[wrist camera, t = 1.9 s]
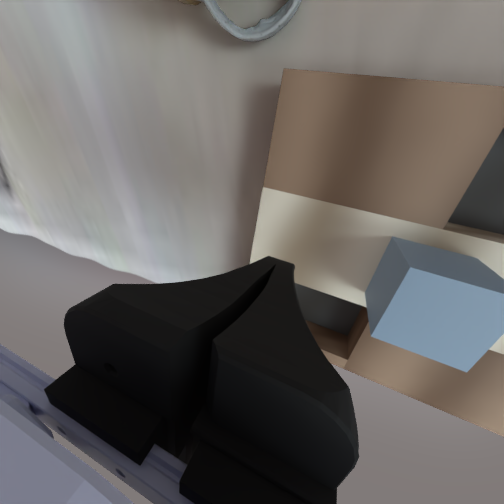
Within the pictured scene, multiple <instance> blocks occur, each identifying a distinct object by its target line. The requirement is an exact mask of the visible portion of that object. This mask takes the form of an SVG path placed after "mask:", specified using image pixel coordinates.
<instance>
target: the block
mask: <svg viewBox="0 0 504 504" xmlns="http://www.w3.org/2000/svg"><path fill="white" fill-rule="evenodd" d="M365 299H366V306H367V313H368V320H369V327H370V334H371V337H374V338H376V339H379V340H382V341H384V342H387V343H390V344H392V345H395V346H398V347H400V348H403V349H406V350H408V351H411V352H414V353H416V354H419V355H422V356H424V357H427V358H430V359H432V360H435V361H438V362H440V363H443V364H446V365H448V366H451V367H454V368H456V369H459V370H462V371H464V372H468V371H469V370H470V369H471V368H472V366H473V365H474V364H475V363H476V362H477V361H478V360H479V359H480V358H481V357H482V356H483V355H484V354H485V353H486V352H487V351H488V350H489V349H490V348H491V347H492V346H493V345H494V343H495V342H496V341H497V340H498V339H499V338H500V337H501V336H502V335H503V334H504V279H503V278H502V277H500V276H499V275H498V274H497V273H495V272H494V271H493V270H491V269H490V268H489V267H488V266H486V265H485V264H484V263H482V262H481V261H480V260H479V259H477V258H475V257H471V256H467V255H463V254H459V253H455V252H452V251H448V250H444V249H440V248H436V247H432V246H428V245H424V244H420V243H416V242H413V241H409V240H405V239H401V238H397V237H393V236H392V238H391V240H390V242H389V244H388V246H387V248H386V250H385V252H384V254H383V256H382V258H381V260H380V262H379V264H378V267H377V269H376V271H375V273H374V275H373V277H372V279H371V281H370V283H369V285H368V287H367V289H366V291H365Z"/></svg>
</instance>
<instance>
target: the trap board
mask: <svg viewBox="0 0 504 504" xmlns="http://www.w3.org/2000/svg"><path fill="white" fill-rule="evenodd" d="M392 236H393V237H397V238H401V239H405V240H409V241H413V242H416V243H420V244H424V245H428V246H432V247H436V248H440V249H444V250H448V251H452V252H455V253H459V254H463V255H467V256H471V257H475V258H477V259H479V260H480V261H481V262H482V263H484V264H485V265H486V266H488V267H489V268H490V269H491V270H493V271H494V272H495V273H497V274H498V275H499V276H500V277H502V278H503V279H504V87H502V86H490V85H478V84H465V83H453V82H441V81H429V80H417V79H405V78H393V77H381V76H369V75H357V74H344V73H332V72H320V71H308V70H296V69H284V70H283V76H282V81H281V87H280V93H279V99H278V104H277V110H276V116H275V121H274V127H273V133H272V138H271V144H270V150H269V155H268V161H267V167H266V172H265V178H264V184H263V189H262V195H261V201H260V206H259V212H258V218H257V224H256V229H255V235H254V241H253V246H252V252H251V258H250V263H249V264H251V263H253V262H256V261H258V260H260V259H262V258H264V257H267V256H271V257H274V258H277V259H280V260H283V261H286V262H290V263H293V264H294V265H295V270H294V282H295V288H296V293H297V297H298V301H299V304H300V308H301V310H302V313H303V316H304V318H305V320H306V323H307V325H308V327H309V329H310V331H311V333H312V335H313V336H314V338H315V340H316V342H317V344H318V346H319V347H320V349H321V350H322V352H323V353H324V355H325V356H326V358H327V359H328V361H329V362H330V363H331V364H334V365H336V366H338V367H341V368H343V369H345V370H348V371H350V372H352V373H355V374H357V375H360V376H362V377H364V378H367V379H369V380H371V381H374V382H376V383H378V384H381V385H383V386H386V387H388V388H390V389H393V390H395V391H397V392H400V393H402V394H404V395H407V396H409V397H411V398H414V399H416V400H418V401H421V402H423V403H426V404H428V405H430V406H433V407H435V408H437V409H440V410H442V411H444V412H447V413H449V414H452V415H454V416H456V417H459V418H461V419H463V420H466V421H468V422H471V423H473V424H475V425H477V426H480V427H482V428H484V429H487V430H489V431H492V432H494V433H497V434H499V435H501V436H503V437H504V334H503V335H502V336H501V337H500V338H499V339H498V340H497V341H496V342H495V343H494V345H493V346H492V347H491V348H490V349H489V350H488V351H487V352H486V353H485V354H484V355H483V356H482V357H481V358H480V359H479V360H478V361H477V362H476V363H475V364H474V365H473V366H472V368H471V369H470V370H469V371H468V372H464V371H462V370H459V369H456V368H454V367H451V366H448V365H446V364H443V363H440V362H438V361H435V360H432V359H430V358H427V357H424V356H422V355H419V354H416V353H414V352H411V351H408V350H406V349H403V348H400V347H398V346H395V345H392V344H390V343H387V342H384V341H382V340H379V339H376V338H374V337H371V334H370V327H369V320H368V313H367V306H366V299H365V291H366V289H367V287H368V285H369V283H370V281H371V279H372V277H373V275H374V273H375V271H376V269H377V267H378V264H379V262H380V260H381V258H382V256H383V254H384V252H385V250H386V248H387V246H388V244H389V242H390V240H391V238H392Z"/></svg>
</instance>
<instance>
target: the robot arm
mask: <svg viewBox="0 0 504 504" xmlns="http://www.w3.org/2000/svg"><path fill="white" fill-rule="evenodd" d="M294 270H295V265H294V264H293V263H290V262H286V261H283V260H280V259H277V258H274V257H271V256H267V257H264V258H262V259H260V260H258V261H256V262H253V263H251V264H249V265H246V266H244V267H241V268H238V269H236V270H233V271H230V272H227V273H224V274H220V275H217V276H212V277H208V278H203V279H197V280H191V281H184V282H176V283H163V284H112V285H111V286H109V287H107V288H105V289H104V290H102V291H100V292H98V293H96V294H95V295H93V296H91V297H90V298H88V299H86V300H84V301H82V302H80V303H79V304H77V305H75V306H73V307H71V308H70V309H69V310H68V311H67V313H66V315H65V319H64V328H65V332H66V336H67V339H68V343H69V345H70V349H71V352H72V355H73V358H74V361H75V364H76V365H74V366H73V367H72V368H70V369H69V370H68V371H67V372H65V373H64V374H63V375H61V376H60V377H59V378H58V379H56V380H55V379H54V378H52V377H51V376H49V375H47V374H46V373H45V372H43V371H41V370H40V369H38V368H37V367H35V366H34V365H32V364H31V363H29V362H27V361H26V360H24V359H23V358H21V357H20V356H18V355H17V354H15V353H13V352H12V351H10V350H9V349H7V348H6V347H4V346H2V345H1V344H0V504H134V503H133V502H132V501H131V500H130V499H129V498H127V497H126V496H125V495H124V494H123V493H121V492H120V491H119V490H118V489H117V488H116V487H115V486H113V485H112V484H111V483H110V482H109V481H107V480H106V479H105V478H104V477H103V476H102V475H100V474H99V473H98V472H97V471H96V470H94V469H93V468H92V467H90V466H89V465H88V464H86V463H85V462H84V461H82V460H81V459H80V458H78V457H77V456H76V455H74V454H73V453H71V452H70V451H69V450H68V449H66V448H65V447H64V446H62V445H61V444H59V443H58V442H57V441H55V440H54V437H53V434H52V432H51V430H50V429H49V428H48V427H47V426H46V425H48V426H49V427H50V428H51V429H53V430H54V431H56V432H57V433H58V434H60V435H61V436H62V437H64V438H65V439H66V440H68V441H69V442H71V443H72V444H73V445H75V446H76V447H77V448H79V449H80V450H81V451H83V452H84V453H85V454H87V455H88V456H90V457H91V458H92V459H94V460H95V461H96V462H98V463H99V464H100V465H102V466H103V467H104V468H106V469H107V470H109V471H110V472H111V473H113V474H114V475H115V476H117V477H118V478H120V479H121V480H122V481H124V482H125V483H126V484H128V485H129V486H130V487H132V488H133V489H134V490H136V491H137V492H139V493H140V494H141V495H143V496H144V497H145V498H147V499H148V500H149V501H151V502H152V503H154V504H336V502H337V501H336V500H337V487H338V486H339V485H340V484H341V482H342V481H343V480H344V479H345V477H347V475H348V474H349V473H350V472H351V471H352V469H353V468H354V467H355V465H356V462H357V460H358V458H359V454H358V448H359V444H358V431H357V424H356V418H355V413H354V407H353V402H352V398H351V393H350V389H349V387H348V386H347V384H346V383H345V382H344V380H343V379H342V378H341V376H340V375H339V374H338V372H337V371H336V370H335V369H334V367H333V366H332V365H331V363H330V362H329V361H328V359H327V358H326V356H325V355H324V353H323V352H322V350H321V349H320V347H319V346H318V344H317V342H316V340H315V338H314V336H313V335H312V333H311V331H310V329H309V327H308V325H307V323H306V320H305V318H304V316H303V313H302V310H301V308H300V304H299V301H298V297H297V293H296V288H295V282H294ZM44 423H45V424H46V425H45V424H44Z"/></svg>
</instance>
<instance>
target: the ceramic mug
mask: <svg viewBox="0 0 504 504" xmlns="http://www.w3.org/2000/svg"><path fill="white" fill-rule="evenodd" d="M178 1H180V2H182V3H184V4H189V5H198V4H199V3H201V2H204V3H205V5H206V7H207V9H208V10H209V12H210V13H211V15H212V16H213V18H214V19H215V20H216V21H217V22H218V23H219V24H220V25H221V26H222V27H223V28H224V29H225V30H226V31H228V32H229V33H230V34H231V35H233V36H234V37H236V38H238V39H241V40H243V41H260V40H264V39H267V38H270V37H271V36H273V35H275V34H276V33H277V32H278V31H280V30H281V29H282V28H283V27H284V26H285V25H286V24H287V23H288V22H289V20H290V19H291V18H292V16H293V15H294V14H295V12H296V10H297V9H298V7H299V5H300V3H301V1H302V0H288V1H287V3H286V4H285V5H284V6H283V7H281V8H280V9H279V10H278V11H277V12H276V13H275V14H274V15H273V16H271V17H269V18H268V19H261V20H260V21H259V23H258V24H257V25H256V26H254V27H250V28H247V29H246V30H245V29H242V28H240V27H238V26H236V25H235V24H234V23H233V22H232V21H231V20H229V18H228V17H227V16H226V15H225V14H224V12H223V11H222V10H221V9H220V7H219V6H218V4H217V2H216V1H215V0H178Z"/></svg>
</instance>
